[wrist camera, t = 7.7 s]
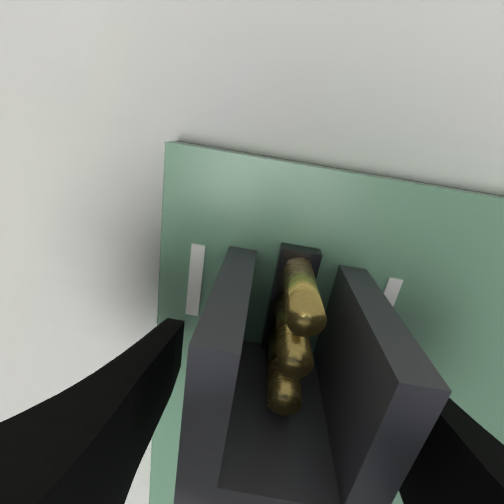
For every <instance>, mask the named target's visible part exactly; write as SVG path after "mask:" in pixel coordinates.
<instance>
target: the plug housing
mask: <svg viewBox="0 0 504 504" xmlns="http://www.w3.org/2000/svg"><path fill="white" fill-rule="evenodd" d="M256 253H257V250H251V249H245V248H240V247H234V246H229V248H228V251H227V253H226V256H225V258H224V260H223V263H222V265H221V268H220V270H219V273H218V275H217V277H216V280H215V282H214V285H213V287H212V290H211V292H210V294H209V297H208V299H207V302H206V304H205V307H204V309H203V311H202V314H201V316H200V319H199V321H198V324H197V326H196V328H195V331H194V333H193V336H192V338H191V341H190V343H189V345H188V355H187V366H186V377H185V387H184V398H183V408H182V419H181V430H180V440H179V451H178V461H177V472H176V483H175V493H174V504H392V502H393V500H394V498H395V497H396V495H397V493H398V491H399V489H400V487H401V486H402V484H403V482H404V480H405V478H406V476H407V474H408V473H409V471H410V469H411V467H412V465H413V463H414V461H415V460H416V458H417V456H418V454H419V452H420V450H421V449H422V447H423V445H424V443H425V441H426V439H427V437H428V436H429V434H430V432H431V430H432V428H433V426H434V424H435V423H436V421H437V419H438V417H439V415H440V413H441V412H442V410H443V408H444V406H445V404H446V402H447V400H448V399H449V397H450V395H451V393H452V391H451V389H450V388H449V386H448V385H447V383H446V382H445V381H444V379H443V378H442V376H441V375H440V373H439V372H438V371H437V369H436V368H435V366H434V365H433V363H432V362H431V361H430V359H429V358H428V356H427V355H426V353H425V352H424V351H423V349H422V348H421V346H420V345H419V343H418V342H417V341H416V339H415V338H414V336H413V335H412V333H411V332H410V331H409V329H408V328H407V326H406V325H405V323H404V322H403V321H402V319H401V318H400V316H399V315H398V313H397V312H396V311H395V309H394V308H393V306H392V305H391V303H390V302H389V301H388V299H387V298H386V296H385V295H384V293H383V292H382V291H381V289H380V288H379V286H378V285H377V283H376V282H375V281H374V279H373V278H372V276H371V275H370V273H369V272H368V271H367V269H362V268H356V267H350V266H344V265H339V267H338V270H337V274H336V277H335V281H334V284H333V287H332V291H331V294H330V298H329V301H328V305H327V308H326V311H325V313H326V317H327V323H326V326H325V328H324V329H323V330H322V331H321V332H320V333H319V336H318V339H317V342H316V346H315V349H314V353H312V356H313V361H314V366H313V369H312V371H311V372H310V373H309V374H308V375H307V376H305V377H303V378H300V385H301V394H302V407H301V408H300V410H299V411H298V412H296V413H294V414H292V415H279V414H276V413H274V412H273V411H271V410H270V409H269V407H268V405H267V383H268V349H263V348H261V344H260V343H254V342H249V341H243V338H244V331H245V325H246V318H247V311H248V305H249V298H250V292H251V285H252V279H253V272H254V266H255V259H256Z"/></svg>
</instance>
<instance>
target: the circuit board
mask: <svg viewBox="0 0 504 504" xmlns="http://www.w3.org/2000/svg"><path fill="white" fill-rule="evenodd" d="M281 242H283V243H289V244H294V245H300V246H306V247H312V248H318V249H320V250H321V252H322V255H323V256H322V260H321V263H320V267H319V271H318V275H317V278H316V282H317V286H318V289H319V293H320V296H321V299H322V303H323V306H324V310H325V311H326V308H327V305H328V301H329V298H330V294H331V291H332V287H333V284H334V281H335V277H336V274H337V270H338V267H339V265H344V266H350V267H356V268H362V269H367V271H368V272H369V273H370V275H371V276H372V278H373V279H374V281H375V282H376V283H377V285H378V286H379V288H380V289H381V291H382V292H383V293H384V295H385V296H386V298H387V299H388V301H389V302H390V303H391V305H392V306H393V308H394V309H395V311H396V312H397V313H398V315H399V316H400V318H401V319H402V321H403V322H404V323H405V325H406V326H407V328H408V329H409V331H410V332H411V333H412V335H413V336H414V338H415V339H416V341H417V342H418V343H419V345H420V346H421V348H422V349H423V351H424V352H425V353H426V355H427V356H428V358H429V359H430V361H431V362H432V363H433V365H434V366H435V368H436V369H437V371H438V372H439V373H440V375H441V376H442V378H443V379H444V381H445V382H446V383H447V385H448V386H449V388H450V389H451V391H452V393H451V395H450V397H449V398H451V399H452V400H453V401H454V402H455V403H456V404H457V405H458V406H459V407H460V408H462V409H463V410H464V411H465V412H466V413H467V414H468V415H469V416H471V417H472V418H473V419H474V420H475V421H476V422H477V423H479V424H480V425H481V426H482V427H483V428H484V429H486V430H487V431H488V432H489V433H490V434H492V435H493V436H494V437H495V438H496V439H498V440H499V441H500V442H501V443H502V444H504V197H503V196H497V195H492V194H486V193H480V192H474V191H468V190H462V189H456V188H450V187H444V186H438V185H432V184H427V183H421V182H415V181H409V180H403V179H397V178H391V177H385V176H379V175H373V174H368V173H362V172H356V171H350V170H344V169H338V168H332V167H326V166H320V165H314V164H308V163H303V162H297V161H291V160H285V159H279V158H273V157H267V156H261V155H255V154H249V153H244V152H238V151H232V150H226V149H220V148H214V147H208V146H202V145H196V144H190V143H184V142H179V141H169V142H165V160H164V183H163V205H162V227H161V249H160V272H159V294H158V316H157V326H158V325H159V324H160V323H161V322H163V321H164V320H165V319H167V318H171V319H177V320H183V321H185V325H184V336H183V348H182V359H181V368H180V371H179V374H178V377H177V380H176V383H175V386H174V389H173V392H172V395H171V397H170V399H169V401H168V403H167V406H166V408H165V410H164V412H163V414H162V417H161V419H160V421H159V423H158V425H157V427H156V429H155V432H154V434H153V436H152V449H151V472H150V494H149V504H174V493H175V483H176V472H177V461H178V451H179V440H180V430H181V419H182V408H183V398H184V387H185V377H186V366H187V355H188V345H189V343H190V341H191V338H192V336H193V333H194V331H195V328H196V326H197V324H198V321H199V319H200V316H201V314H202V311H203V309H204V307H205V304H206V302H207V299H208V297H209V294H210V292H211V290H212V287H213V285H214V282H215V280H216V277H217V275H218V273H219V270H220V268H221V265H222V263H223V260H224V258H225V256H226V253H227V251H228V248H229V246H234V247H240V248H245V249H251V250H257V253H256V259H255V266H254V272H253V279H252V285H251V292H250V298H249V305H248V311H247V318H246V325H245V331H244V338H243V341H249V342H254V343H260V344H261V338H262V333H263V328H264V323H265V318H266V313H267V308H268V303H269V299H270V294H271V289H272V284H273V279H274V274H275V269H276V264H277V260H278V255H279V250H280V245H281ZM318 336H319V334H317V335H315V336H312V337H309V339H310V344H311V350H312V353H314V349H315V346H316V342H317V339H318ZM392 504H403V501H402V498H401V496H400V493H399V491H398V493H397V495H396V497H395V498H394V500H393V502H392Z"/></svg>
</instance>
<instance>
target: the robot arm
mask: <svg viewBox="0 0 504 504" xmlns="http://www.w3.org/2000/svg"><path fill="white" fill-rule="evenodd" d="M184 325H185V321H183V320H177V319H171V318H167V319H165V320H164V321H163V322H161V323H160V324H159V325H158V326H156V327H155V328H154V329H153V330H152V331H150V332H149V333H148V334H147V335H145V336H144V337H143V338H142V339H140V340H139V341H138V342H136V343H135V344H134V345H132V346H131V347H130V348H128V349H127V350H126V351H125V352H123V353H122V354H120V355H119V356H118V357H116V358H115V359H113V360H112V361H110V362H109V363H107V364H106V365H105V366H103V367H102V368H100V369H99V370H97V371H96V372H94V373H93V374H91V375H89V376H88V377H86V378H85V379H83V380H81V381H80V382H78V383H76V384H75V385H73V386H71V387H69V388H68V389H66V390H64V391H63V392H61V393H59V394H57V395H55V396H53V397H51V398H49V399H47V400H45V401H43V402H41V403H39V404H37V405H35V406H33V407H32V408H30V409H28V410H26V411H24V412H22V413H20V414H18V415H16V416H13V417H11V418H9V419H7V420H5V421H2V422H0V504H124V503H125V500H126V498H127V495H128V492H129V489H130V487H131V484H132V481H133V479H134V476H135V474H136V471H137V469H138V467H139V464H140V462H141V460H142V457H143V455H144V453H145V451H146V449H147V447H148V445H149V442H150V440H151V438H152V436H153V434H154V432H155V429H156V427H157V425H158V423H159V421H160V419H161V417H162V414H163V412H164V410H165V408H166V406H167V403H168V401H169V399H170V397H171V395H172V392H173V389H174V386H175V383H176V380H177V377H178V374H179V371H180V368H181V359H182V348H183V336H184ZM399 493H400V496H401V498H402V501H403V504H504V444H502V443H501V442H500V441H499V440H498V439H496V438H495V437H494V436H493V435H492V434H490V433H489V432H488V431H487V430H486V429H484V428H483V427H482V426H481V425H480V424H479V423H477V422H476V421H475V420H474V419H473V418H472V417H471V416H469V415H468V414H467V413H466V412H465V411H464V410H463V409H462V408H460V407H459V406H458V405H457V404H456V403H455V402H454V401H453V400H452V399H451V398H449V399H448V400H447V402H446V404H445V406H444V408H443V410H442V412H441V413H440V415H439V417H438V419H437V421H436V423H435V424H434V426H433V428H432V430H431V432H430V434H429V436H428V437H427V439H426V441H425V443H424V445H423V447H422V449H421V450H420V452H419V454H418V456H417V458H416V460H415V461H414V463H413V465H412V467H411V469H410V471H409V473H408V474H407V476H406V478H405V480H404V482H403V484H402V486H401V487H400V489H399Z"/></svg>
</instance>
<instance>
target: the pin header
mask: <svg viewBox="0 0 504 504" xmlns="http://www.w3.org/2000/svg"><path fill="white" fill-rule="evenodd" d="M322 256H323V255H322V252H321V250H320V249H318V248H312V247H306V246H300V245H294V244H289V243H283V242H281V245H280V250H279V255H278V260H277V264H276V269H275V274H274V279H273V284H272V289H271V294H270V299H269V303H268V308H267V313H266V318H265V323H264V328H263V333H262V338H261V348H263V349H268V383H267V405H268V407H269V409H270V410H271V411H273V412H274V413H276V414H279V415H292V414H294V413H296V412H298V411H299V410H300V408H301V407H302V394H301V385H300V378H303V377H305V376H307V375H308V374H309V373H310V372H311V371H312V369H313V366H314V361H313V356H312V350H311V344H310V339H309V337H312V336H315V335H317V334H319V333H320V332H321V331H322V330H323V329H324V328H325V326H326V323H327V317H326V313H325V310H324V306H323V303H322V299H321V296H320V293H319V289H318V286H317V282H316V278H317V275H318V271H319V267H320V263H321V260H322Z"/></svg>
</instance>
